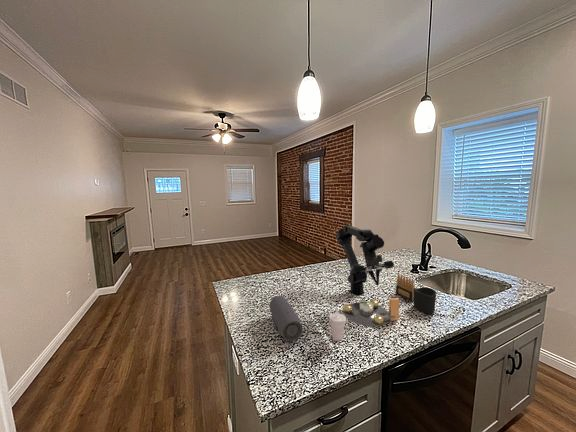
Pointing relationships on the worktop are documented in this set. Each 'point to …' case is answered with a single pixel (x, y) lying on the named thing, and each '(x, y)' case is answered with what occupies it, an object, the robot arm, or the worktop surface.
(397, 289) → the ammunition clip
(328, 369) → the worktop surface
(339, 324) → the smoothie
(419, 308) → the pen holder
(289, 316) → the bluetooth speaker
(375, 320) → the lever
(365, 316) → the tribrach plate
